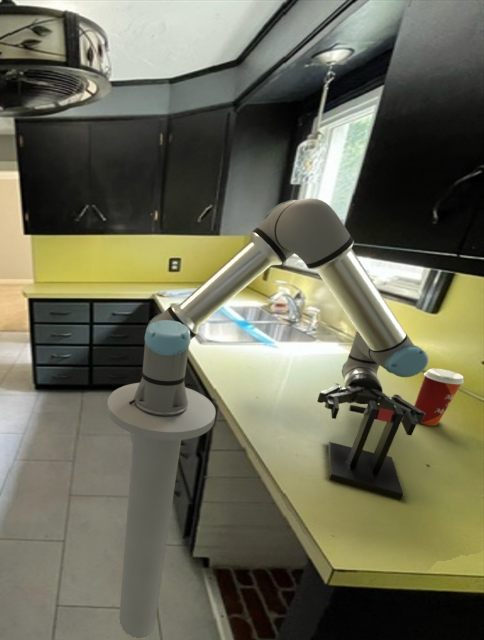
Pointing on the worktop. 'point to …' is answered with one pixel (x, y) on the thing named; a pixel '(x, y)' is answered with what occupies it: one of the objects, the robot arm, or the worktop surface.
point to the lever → (381, 414)
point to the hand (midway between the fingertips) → (372, 421)
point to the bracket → (368, 457)
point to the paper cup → (437, 394)
